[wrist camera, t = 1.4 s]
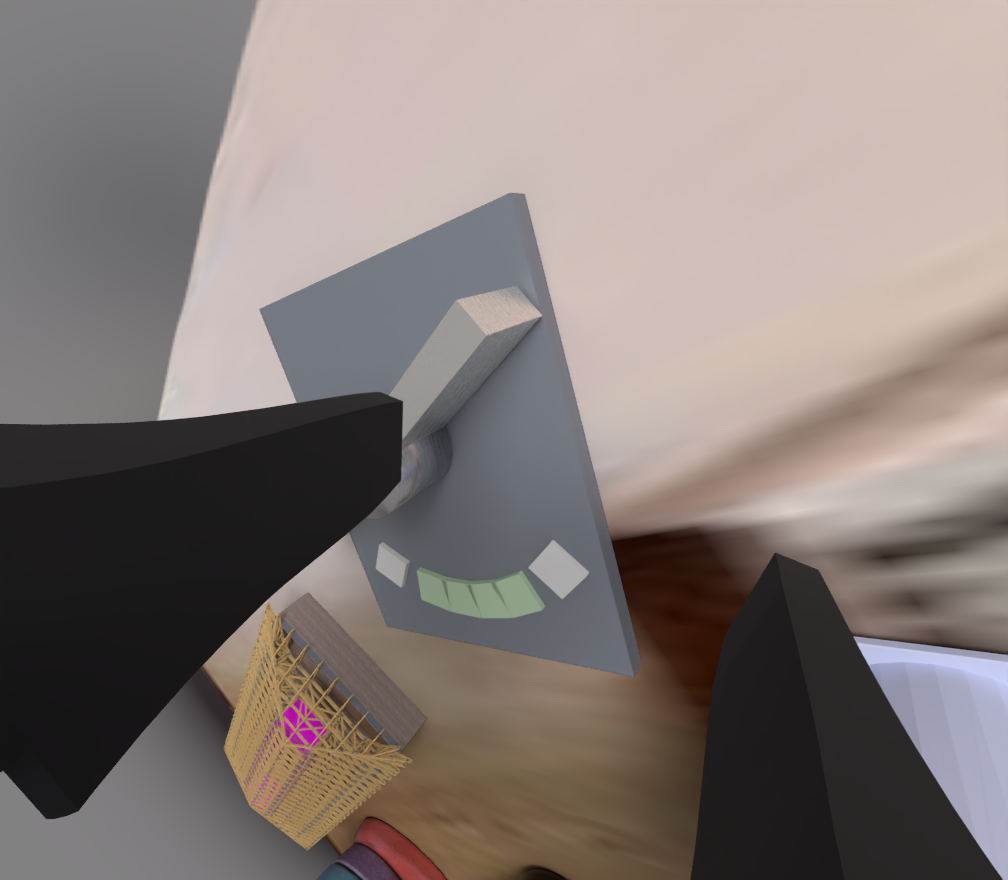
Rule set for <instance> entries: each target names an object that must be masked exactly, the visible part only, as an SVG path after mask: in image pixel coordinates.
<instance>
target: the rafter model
mask: <svg viewBox="0 0 1008 880" xmlns="http://www.w3.org/2000/svg"><path fill="white" fill-rule="evenodd" d="M270 613H271V615H272V617H271V616H270ZM264 617H265V620H264V619H263V620H261V624H260V625H259V626H260V629H261V631H259V632H257V633H258V636H259V638H257V639H256V640H255V641H256V644H257V646H256V645H255V646H253V648H254V651H255V653H254V652H253V653H251V655H252V659H253V660H252V659H250V660H249V662H250V665H251V666H250V665H249V666H248V667H247V668H248V671H247V672H246V673H245V674H246V677H247V678H244V682H245V683H244V684H242V687H243V689H241V690H240V691H241V694H240V695H239V700H238V701H237V702H238V704H237V705H236V710H234V711H235V714H234V715H233V717H234V718H233V719H232V723H231V727H230V728H229V729H230V731H229V732H228V735H227V739H226V744H225V745H224V746H225V747H224V750H225V753H226V755H227V757H228V759H229V761H230V764H231V766H232V768H233V770H234V772H235V775H236V777H237V779H238V781H239V783H240V785H241V788H242V790H243V792H244V794H245V796H246V799H247V801H248V803H249V805H250V807H251V808H253V809H254V810H255V811H257V812H258V813H259V814H261V815H262V816H263V817H265V818H266V819H267V820H268V821H270V822H271V823H272V824H274V825H275V826H276V827H277V828H279V829H280V830H282V831H283V832H284V833H285V834H287V835H288V836H289V837H291V838H292V839H293V840H295V841H296V842H297V843H299V844H300V845H301V846H302V847H304V848H305V849H306V850H308V849H310V848H311V846H313V845H314V844H315V843H317V841H319V840H320V839H321V838H322V837H323V836H325V835H326V834H328V832H329V831H331V830H332V828H334V827H335V825H338V824H339V823H338V822H340V823H341V821H342V819H345V818H346V816H349V814H350V813H352V812H353V811H354V810H353V809H357V808H358V806H357V805H359V806H361V804H362V802H361V801H363V802H365V801H366V800H367V799H366V798H365V797H367V798H370V797H371V796H372V795H371V794H370V793H372V794H375V793H376V790H375V789H374V788H376V789H378V790H380V788H381V786H380V785H379V783H380V784H382V785H384V786H385V784H386V783H387V782H386V781H385V780H384V779H386V780H388V781H390V780H391V779H392V777H391V776H390V775H392V776H394V777H395V776H396V775H397V774H399V772H400V770H399V769H398V767H397V766H399V767H402V768H406V766H407V764H406V763H411V762H412V761H413V760H412V759H410V758H408V757H406V756H404V755H402V754H400V752H401V751H402V749H403V748H404V747H405V746H406V744H407V743H408V742H409V740H410V739H411V738H412V737H413V735H414V734H415V733H416V732H417V730H418V729H419V728H420V727H421V725H422V724H423V723H424V721H425V720H426V719H427V718H426V716H425V715H424V714H423V713H422V712H421V711H420V710H419V709H418V708H417V707H416V706H415V705H414V704H413V703H412V702H411V701H410V700H409V698H408V697H407V696H406V695H405V694H404V693H403V692H402V691H401V690H400V689H399V688H398V687H397V686H396V685H395V684H394V683H393V681H392V680H391V679H390V678H389V677H388V676H387V675H386V674H385V673H384V672H383V671H382V670H381V669H380V668H379V667H378V666H377V664H376V663H375V662H374V661H373V660H372V659H371V658H370V657H369V656H368V655H367V654H366V653H365V652H364V651H363V650H362V649H361V648H360V646H359V645H358V644H357V643H356V642H355V641H354V640H353V639H352V638H351V637H350V636H349V635H348V634H347V633H346V632H345V631H344V629H343V628H342V627H341V626H340V625H339V624H338V623H337V622H336V621H335V620H334V619H333V618H332V617H331V616H330V615H329V614H328V612H327V611H326V610H325V609H324V608H323V607H322V606H321V605H320V604H319V603H318V602H317V601H316V600H315V599H314V598H313V597H312V596H311V594H310V593H309V592H308V593H307V594H305V595H304V596H303V597H301V598H300V599H299V600H297V601H296V602H295V603H293V604H292V605H290V606H289V607H288V608H286V609H285V610H284V611H282V612H281V613H279V614H278V615H277V616H275V615H274V613H273V610H272V608H271V606H270V603H269V602H268V603H267V604H266V610H265V611H264ZM272 618H273V619H272ZM273 620H274V621H273ZM271 622H272V627H271ZM265 625H266V626H267V627H266V626H265ZM261 636H262V637H263V638H264V641H265V644H266V646H265V645H264V643H263V640H262V637H261ZM259 639H260V640H259ZM293 640H294V641H295V642H296V643H297V644H298V646H299V647H300V648H301V649H302V650H303V651H302V652H301V653H300V655H299V656H297V655H296V654H295V653H294V652H293V651H292V650H291V649H290V647H291V644H292V642H293ZM259 644H260V645H261V646H262V649H263V652H262V651H261V648H260V645H259ZM257 651H258V652H259V654H260V657H261V660H260V658H259V655H258V652H257ZM305 653H306V654H307V655H308V657H309V658H310V659H311V660H312V661H313V662H314V663H315V664H316V665H317V666H318V667H317V668H316V669H315V670H314V672H313V673H312V672H311V671H310V670H309V668H308V667H307V666H306V665H305V664H304V663H303V662H302V659H303V656H304V654H305ZM301 656H302V657H301ZM300 657H301V659H300ZM255 658H256V660H257V661H258V664H259V666H258V665H257V663H256V660H255ZM253 665H254V666H255V668H256V672H257V673H256V672H255V670H254V667H253ZM319 669H320V670H321V671H322V672H323V673H324V674H325V675H326V676H327V677H328V679H329V680H330V681H331V682H332V684H331V685H330V687H329V688H328V689H327V688H326V687H325V686H324V685H323V684H322V683H321V682H320V681H319V680H318V678H317V677H316V674H317V673H318V671H319ZM251 672H252V673H253V675H254V678H253V676H252V673H251ZM314 674H315V675H314ZM249 678H250V679H251V682H252V684H251V682H250V679H249ZM247 683H248V684H247ZM248 685H249V687H250V689H249V688H248ZM334 685H335V686H336V687H337V689H338V690H339V691H340V692H341V693H342V694H343V695H344V696H345V697H346V698H347V701H346V702H345V704H344V705H343V706H342V705H341V704H340V703H339V702H338V701H337V699H336V698H335V697H334V696H333V695H332V694H331V693H330V691H331V689H332V688H333V686H334ZM246 690H247V692H246ZM247 693H248V694H247ZM244 695H245V697H246V699H245V697H244ZM281 699H282V700H283V701H281ZM242 700H243V701H242ZM243 702H244V704H243ZM348 702H350V703H351V704H352V705H353V706H354V707H355V708H356V709H357V711H358V712H359V713H360V714H361V715H362V716H363V718H362V719H361V720H360V721H359V722H358V723H357V722H356V720H355V719H354V718H353V717H352V716H351V715H350V714H349V713H348V712H347V710H346V709H345V706H346V705H347V703H348ZM278 703H279V704H278ZM283 703H285V704H286V705H287V706H285V705H284V704H283ZM240 704H241V705H240ZM241 706H242V708H241ZM271 706H272V707H271ZM282 707H283V708H282ZM276 709H277V710H278V713H277V712H276ZM282 709H283V710H282ZM239 710H240V711H239ZM272 712H273V713H272ZM273 715H275V718H274V717H273ZM238 716H239V717H238ZM364 718H365V719H366V720H367V722H368V723H369V724H370V725H371V726H372V727H373V728H374V729H375V730H376V732H377V733H378V736H379V735H380V736H381V737H382V738H383V739H384V740H385V741H386V743H387V744H388V745H386V744H379V743H377V742H375V740H376V739H377V737H378V736H377V737H376V738H375V739H374V740H373V739H372V738H371V737H370V736H369V735H368V734H367V733H366V731H365V730H364V729H363V728H362V727H361V726H360V725H359V724H360V722H361V721H362V720H363V719H364ZM236 719H237V720H236ZM270 720H272V722H271V721H270ZM267 722H268V723H267ZM235 725H236V726H235ZM268 725H269V726H268ZM233 727H234V728H233ZM265 728H266V729H265ZM232 732H233V733H232ZM266 735H267V736H268V738H267V736H266ZM285 735H286V736H287V737H286V736H285ZM280 737H281V738H282V740H281V738H280ZM277 741H278V743H279V745H278V743H277ZM291 742H292V743H291ZM321 746H322V747H321ZM288 747H289V748H290V749H291V750H292V751H293V752H294V753H295V754H294V753H292V751H291V750H290V749H289V748H288ZM283 748H284V749H283ZM279 750H280V751H279ZM320 751H321V752H322V753H321V752H320ZM325 751H326V752H325ZM280 752H281V753H282V754H283V755H282V754H280ZM286 753H287V754H289V755H290V756H291V757H292V759H291V758H290V757H289V756H288V755H287V754H286ZM328 753H329V754H330V756H329V755H328ZM317 756H318V757H319V758H317ZM397 756H399V757H401V758H403V759H399V758H398V757H397ZM332 757H333V758H332ZM324 758H326V761H325V760H324ZM237 759H238V760H237ZM285 759H286V760H288V761H289V762H290V763H291V764H292V765H290V764H288V762H287V761H286V760H285ZM298 759H300V760H301V761H299V760H298ZM328 760H329V761H330V763H328ZM314 761H315V763H314ZM394 761H397V762H400V763H397V762H394ZM320 762H321V763H322V765H321V763H320ZM336 763H337V764H338V766H339V767H338V766H337V765H336ZM295 764H297V765H298V766H299V767H298V766H296V765H295ZM324 764H325V765H326V768H324ZM390 764H391V765H392V766H393V767H394V768H395V769H394V768H392V766H391V765H390ZM310 765H311V766H312V768H310ZM318 768H319V769H318ZM332 768H333V769H334V770H335V771H334V770H333V769H332ZM242 769H243V770H242ZM314 769H315V770H314ZM320 769H321V770H322V773H321V772H320ZM294 770H296V771H294ZM307 770H309V773H308V772H307ZM337 770H338V772H339V773H340V774H341V775H342V776H341V775H339V774H338V773H337ZM380 771H382V772H383V773H384V774H385V775H386V776H385V775H383V774H381V773H379V772H380ZM310 772H311V773H312V774H310ZM329 773H330V774H331V775H330V774H329ZM304 774H305V775H306V777H305V775H304ZM317 774H318V775H319V777H318V776H317ZM345 774H346V775H348V776H349V777H350V778H351V780H350V779H349V778H348V777H347V776H346V775H345ZM389 774H390V775H389ZM239 775H240V776H239ZM333 775H334V776H335V777H336V778H337V779H338V780H339V781H338V780H336V779H334V777H333ZM375 775H376V776H377V777H378V778H379V779H380V780H378V779H376V778H374V776H375ZM307 776H308V777H309V779H307ZM320 776H321V777H320ZM247 778H248V779H247ZM383 778H384V779H383ZM302 779H303V780H302ZM314 779H315V780H314ZM342 779H343V780H345V781H346V783H347V785H346V784H345V783H344V781H343V780H342ZM304 780H305V781H306V783H305V782H304ZM317 780H318V781H317ZM330 780H331V781H332V782H333V783H334V784H335V785H336V786H335V785H333V784H331V782H330ZM370 780H371V781H372V782H373V783H374V784H373V783H370V782H369V781H370ZM307 783H308V784H309V785H308V784H307ZM318 783H319V784H318ZM313 784H314V786H313ZM327 785H328V786H329V787H330V788H331V789H332V790H331V789H329V788H328V787H327ZM340 785H341V786H342V788H343V789H342V788H341V787H340ZM365 785H367V786H368V787H369V788H370V789H369V788H367V787H365ZM315 787H316V788H315ZM344 787H345V788H344ZM373 787H374V788H373ZM323 789H324V790H326V791H327V792H328V793H325V792H324V790H323ZM336 789H337V790H338V791H337V790H336ZM360 789H362V790H363V791H364V792H365V793H364V792H361V791H359V790H360ZM312 791H313V792H312ZM340 791H341V792H342V793H341V792H340ZM369 792H370V793H369ZM320 793H321V794H323V795H324V796H325V798H324V797H322V795H321V794H320ZM356 793H358V795H359V796H360V797H359V796H357V795H355V794H356ZM333 794H334V795H335V796H334V795H333ZM364 796H365V797H364ZM313 797H314V798H313ZM317 797H318V798H320V799H321V801H320V800H319V799H318V798H317ZM352 797H353V798H354V799H355V800H356V801H355V800H353V799H351V798H352ZM330 798H331V799H330ZM250 799H251V800H250ZM333 799H334V800H333ZM360 800H361V801H360ZM347 801H349V802H350V803H351V804H352V805H351V804H349V803H347ZM251 802H252V803H251ZM330 803H331V804H330ZM344 804H345V805H346V806H347V808H346V807H344V806H343V805H344ZM356 804H357V805H356ZM253 805H256V806H257V807H255V806H253ZM276 807H278V808H279V809H277V808H276ZM340 808H342V810H343V811H341V810H340ZM352 808H353V809H352ZM274 810H276V811H278V812H279V813H277V812H275V811H274ZM260 811H261V812H260ZM336 812H339V814H340V815H339V814H337V813H336ZM349 812H350V813H349ZM280 813H282V814H283V815H281V814H280ZM275 814H276V815H278V816H275ZM268 815H269V816H268ZM333 815H335V816H336V817H337V818H335V817H333ZM345 815H346V816H345ZM273 817H274V818H275V819H274V818H273ZM280 817H282V818H280ZM284 818H285V820H284ZM329 818H331V819H332V820H333V821H332V820H330V819H329ZM341 818H342V819H341ZM272 820H273V821H272ZM288 820H289V821H290V822H289V821H288ZM281 821H283V822H281ZM326 821H328V822H329V823H330V824H329V823H327V822H326ZM285 823H287V824H285ZM288 824H289V825H288ZM323 824H325V825H326V826H327V827H326V826H324V825H323ZM291 825H292V826H291ZM284 826H286V827H284ZM293 826H294V827H293ZM321 827H322V828H323V829H324V830H323V829H322V828H321ZM282 828H283V829H282ZM289 828H290V829H289ZM291 829H292V830H291ZM317 829H318V830H320V831H321V832H319V831H318V830H317ZM293 830H294V831H293ZM328 830H329V831H328ZM288 831H290V832H288ZM295 831H296V832H295ZM291 832H292V833H291ZM315 832H316V833H317V834H318V835H317V834H316V833H315ZM293 833H294V834H293ZM313 835H314V836H316V837H314V836H313ZM312 838H313V839H314V840H313V839H312ZM308 840H309V841H308ZM307 844H308V845H307Z"/></svg>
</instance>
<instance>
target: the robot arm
mask: <svg viewBox="0 0 1008 880" xmlns="http://www.w3.org/2000/svg"><path fill="white" fill-rule="evenodd" d="M402 426H403V401H401V400H399V399H396V398H394V397H391V396H389V395H387V394H384V393H382V392H368V393H359V394H351V395H343V396H337V397H330V398H324V399H318V400H312V401H306V402H300V403H294V404H287V405H281V406H275V407H269V408H262V409H255V410H248V411H241V412H233V413H226V414H219V415H212V416H204V417H195V418H185V419H174V420H161V421H147V422H135V423H105V424H60V425H59V424H58V425H30V424H29V425H28V424H27V425H26V424H0V772H2V771H4V772H5V773H6V774H7V775H8V777H9V778H10V779H11V780H12V781H13V782H14V783H15V784H16V785H17V787H18V788H19V789H20V790H21V791H22V792H23V793H24V794H25V796H26V797H27V798H28V799H29V800H30V801H31V802H32V803H33V804H34V806H35V807H36V808H37V809H38V810H39V811H40V812H41V814H42V815H43V816H44V817H45V818H46V819H56V818H60V817H64V816H68V815H70V814H72V813H75V812H77V811H79V810H80V808H81V807H82V806H83V804H84V803H85V802H86V801H87V799H88V798H89V797H90V795H91V794H92V793H93V792H94V790H95V789H96V788H97V787H98V785H99V784H100V783H101V782H102V781H103V779H104V778H105V777H106V776H107V775H108V773H109V772H110V771H111V770H112V768H113V767H114V766H115V765H116V763H117V762H118V761H119V760H120V759H121V757H122V756H123V755H124V754H125V752H126V751H127V750H128V749H129V748H130V747H131V745H132V744H133V743H134V742H135V740H136V739H137V738H138V737H139V736H140V734H141V733H142V732H143V731H144V730H145V728H146V727H147V726H148V725H149V724H150V723H151V722H152V721H153V720H154V718H155V717H156V716H157V715H158V714H159V713H160V712H161V710H162V709H163V708H164V707H165V706H166V705H167V704H168V703H169V701H170V700H171V699H172V698H173V697H174V696H175V695H176V694H177V692H178V691H179V690H180V689H181V688H182V687H183V686H184V684H185V683H186V682H187V681H188V680H189V679H190V678H191V677H192V676H193V675H194V674H195V672H197V670H198V669H199V668H200V667H201V666H202V665H203V664H204V663H205V662H206V661H207V660H208V659H209V658H210V657H211V656H212V655H213V654H214V653H215V652H216V651H217V650H218V648H219V647H220V646H221V645H222V644H223V643H224V642H225V641H226V640H227V639H228V638H229V637H230V636H231V635H232V634H233V633H234V632H235V631H236V630H237V629H238V628H239V627H240V626H241V625H242V624H243V623H244V622H245V621H246V620H247V619H248V618H249V617H250V616H251V615H252V614H253V613H254V612H255V611H256V610H257V609H258V608H259V607H260V606H261V605H262V604H263V603H264V602H265V601H266V600H267V599H269V598H270V597H271V596H272V595H273V594H274V593H275V592H277V591H278V590H279V589H280V588H281V587H282V586H283V585H285V584H286V583H287V582H288V581H289V580H291V579H292V578H293V577H294V576H296V575H297V574H298V573H299V572H300V571H302V570H303V569H304V568H305V567H307V566H308V565H309V564H310V563H312V562H313V561H314V560H315V559H316V558H318V557H319V556H320V555H321V554H323V553H324V552H325V551H326V550H328V549H329V548H330V547H331V546H332V545H334V544H335V543H336V542H337V541H339V540H340V539H341V538H342V537H344V536H345V535H346V534H347V533H348V532H350V531H351V530H352V529H353V528H354V527H356V526H357V525H358V524H359V523H360V522H362V521H363V520H364V519H365V518H366V517H367V516H369V515H370V514H371V513H372V512H373V511H374V510H375V509H376V508H377V507H378V506H379V504H380V503H381V502H382V501H383V500H384V499H385V498H386V497H387V496H388V495H389V494H390V493H391V491H392V490H393V489H394V488H395V487H396V486H397V485H398V483H399V482H400V481H401V467H402ZM691 880H1008V655H1003V654H995V653H987V652H979V651H971V650H962V649H954V648H946V647H938V646H929V645H921V644H913V643H905V642H897V641H888V640H880V639H872V638H864V637H855V636H853V635H852V633H851V631H850V629H849V628H848V626H847V624H846V622H845V620H844V618H843V616H842V614H841V612H840V610H839V608H838V606H837V604H836V603H835V601H834V599H833V597H832V595H831V593H830V591H829V589H828V587H827V585H826V583H825V581H824V579H823V578H822V576H821V574H820V572H819V570H817V569H815V568H812V567H810V566H807V565H805V564H802V563H800V562H797V561H795V560H792V559H790V558H788V557H785V556H783V555H780V554H778V553H775V554H774V555H773V557H772V559H771V560H770V562H769V564H768V565H767V567H766V569H765V570H764V572H763V573H762V575H761V577H760V578H759V580H758V582H757V583H756V585H755V587H754V588H753V590H752V592H751V593H750V595H749V597H748V598H747V600H746V601H745V603H744V605H743V606H742V608H741V610H740V611H739V613H738V615H737V616H736V618H735V620H734V621H733V623H732V625H731V626H730V628H729V629H728V631H727V633H726V634H725V638H724V642H723V646H722V650H721V654H720V658H719V662H718V666H717V670H716V675H715V679H714V684H713V688H712V693H711V702H710V711H709V720H708V730H707V739H706V749H705V759H704V768H703V778H702V788H701V798H700V808H699V818H698V828H697V838H696V846H695V853H694V860H693V867H692V874H691Z"/></svg>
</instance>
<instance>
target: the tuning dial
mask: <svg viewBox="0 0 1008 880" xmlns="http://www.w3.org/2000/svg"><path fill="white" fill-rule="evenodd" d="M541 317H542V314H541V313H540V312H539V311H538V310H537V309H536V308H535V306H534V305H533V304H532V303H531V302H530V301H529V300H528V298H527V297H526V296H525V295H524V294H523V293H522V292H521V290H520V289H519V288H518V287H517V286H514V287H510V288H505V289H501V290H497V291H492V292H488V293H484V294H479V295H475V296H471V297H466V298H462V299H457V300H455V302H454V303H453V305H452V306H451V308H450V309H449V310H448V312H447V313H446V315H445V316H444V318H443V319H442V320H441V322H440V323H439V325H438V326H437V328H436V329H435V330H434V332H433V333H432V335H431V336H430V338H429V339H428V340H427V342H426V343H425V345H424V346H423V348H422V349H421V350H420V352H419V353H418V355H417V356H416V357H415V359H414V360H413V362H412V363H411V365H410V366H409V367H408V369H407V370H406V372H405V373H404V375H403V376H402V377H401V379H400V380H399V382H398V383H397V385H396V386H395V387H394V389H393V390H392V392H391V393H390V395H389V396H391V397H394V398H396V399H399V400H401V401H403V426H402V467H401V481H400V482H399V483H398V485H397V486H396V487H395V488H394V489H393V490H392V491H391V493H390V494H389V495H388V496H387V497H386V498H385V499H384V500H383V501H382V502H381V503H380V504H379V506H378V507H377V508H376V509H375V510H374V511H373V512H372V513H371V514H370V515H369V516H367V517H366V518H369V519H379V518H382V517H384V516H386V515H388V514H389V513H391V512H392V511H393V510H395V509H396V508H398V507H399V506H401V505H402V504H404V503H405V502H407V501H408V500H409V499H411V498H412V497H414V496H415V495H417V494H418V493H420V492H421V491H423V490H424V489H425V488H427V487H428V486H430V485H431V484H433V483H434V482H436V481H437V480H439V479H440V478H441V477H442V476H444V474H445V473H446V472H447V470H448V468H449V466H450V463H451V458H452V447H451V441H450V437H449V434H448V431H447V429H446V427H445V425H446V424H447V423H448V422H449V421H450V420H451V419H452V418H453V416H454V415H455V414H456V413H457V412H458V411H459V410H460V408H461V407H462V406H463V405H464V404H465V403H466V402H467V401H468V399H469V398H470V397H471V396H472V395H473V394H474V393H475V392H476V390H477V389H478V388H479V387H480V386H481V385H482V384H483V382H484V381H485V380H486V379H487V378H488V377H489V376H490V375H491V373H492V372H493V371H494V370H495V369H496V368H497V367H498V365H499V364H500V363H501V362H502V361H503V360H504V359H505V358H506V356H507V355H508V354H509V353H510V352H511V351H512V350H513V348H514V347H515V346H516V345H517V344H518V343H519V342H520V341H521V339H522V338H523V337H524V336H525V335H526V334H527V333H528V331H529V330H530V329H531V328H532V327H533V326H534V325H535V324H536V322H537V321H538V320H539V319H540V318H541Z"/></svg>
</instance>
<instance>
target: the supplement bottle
mask: <svg viewBox="0 0 1008 880" xmlns="http://www.w3.org/2000/svg"><path fill="white" fill-rule="evenodd" d="M520 880H565V879H563V878H561V877H560V876H558V875H556V874H554V873H551V872H549V871H546V870H542V869H532V870H529V871H527V872H526V873H525V874H524V875H523V876H522V877H521V879H520Z"/></svg>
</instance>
